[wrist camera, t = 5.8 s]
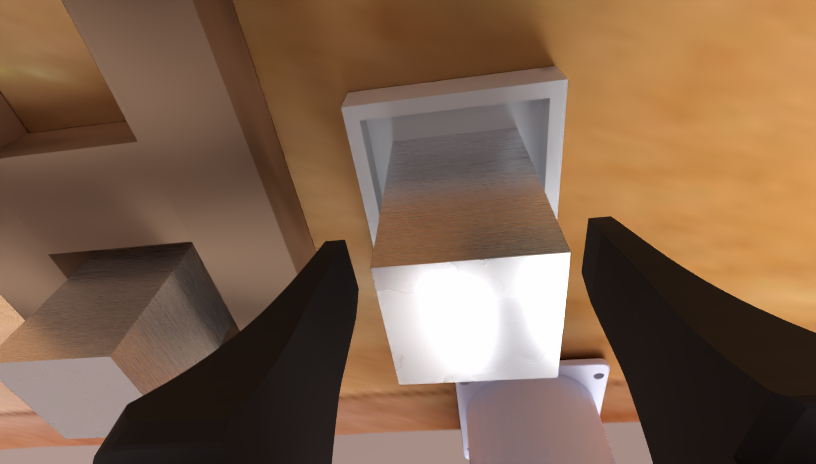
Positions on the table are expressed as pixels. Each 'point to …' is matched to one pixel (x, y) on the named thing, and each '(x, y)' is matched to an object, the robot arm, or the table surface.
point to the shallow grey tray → (457, 122)
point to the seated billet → (114, 336)
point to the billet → (469, 261)
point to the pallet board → (156, 162)
